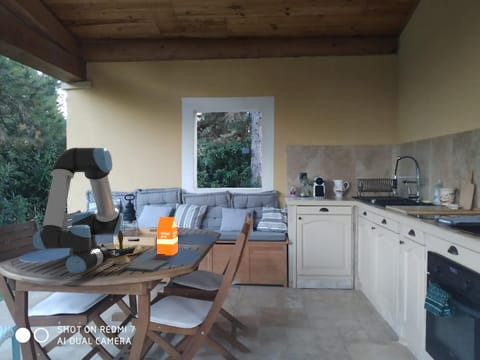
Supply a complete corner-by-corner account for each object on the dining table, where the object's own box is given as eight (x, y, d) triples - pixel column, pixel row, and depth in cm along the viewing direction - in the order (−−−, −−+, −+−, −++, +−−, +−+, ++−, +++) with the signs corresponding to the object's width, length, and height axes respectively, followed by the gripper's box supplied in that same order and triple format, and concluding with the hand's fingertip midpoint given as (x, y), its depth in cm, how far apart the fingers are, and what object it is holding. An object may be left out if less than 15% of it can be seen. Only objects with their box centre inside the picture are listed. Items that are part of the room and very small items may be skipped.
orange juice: (172, 255, 193) (171, 218, 192) (157, 254, 194) (156, 218, 193) (177, 251, 200) (177, 216, 199) (163, 251, 202) (162, 215, 201)
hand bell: (114, 265, 175) (113, 232, 174) (111, 261, 182) (110, 230, 181) (131, 263, 178) (131, 231, 178) (128, 259, 186) (127, 228, 185)
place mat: (123, 269, 168) (123, 267, 168) (141, 260, 182) (141, 258, 182) (152, 271, 163) (152, 269, 163) (168, 262, 178) (168, 260, 178)
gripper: (74, 262, 166) (104, 251, 186) (121, 266, 159) (146, 254, 179) (73, 246, 166) (103, 237, 186) (120, 249, 159) (146, 240, 179)
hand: (124, 246), depth 183 cm, fingers open, 13 cm apart
